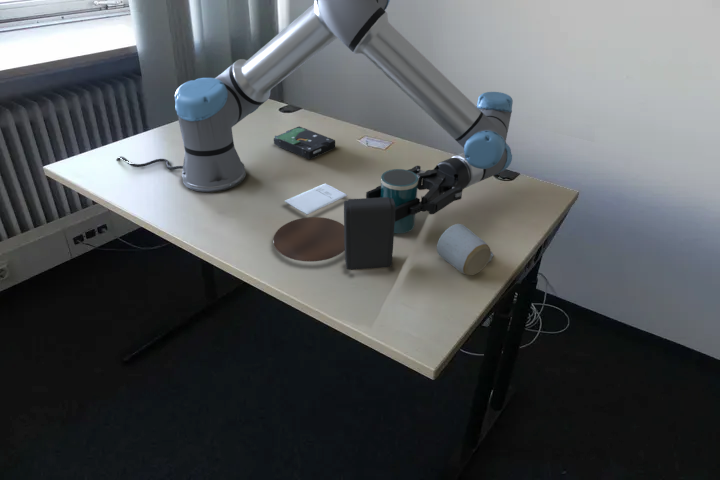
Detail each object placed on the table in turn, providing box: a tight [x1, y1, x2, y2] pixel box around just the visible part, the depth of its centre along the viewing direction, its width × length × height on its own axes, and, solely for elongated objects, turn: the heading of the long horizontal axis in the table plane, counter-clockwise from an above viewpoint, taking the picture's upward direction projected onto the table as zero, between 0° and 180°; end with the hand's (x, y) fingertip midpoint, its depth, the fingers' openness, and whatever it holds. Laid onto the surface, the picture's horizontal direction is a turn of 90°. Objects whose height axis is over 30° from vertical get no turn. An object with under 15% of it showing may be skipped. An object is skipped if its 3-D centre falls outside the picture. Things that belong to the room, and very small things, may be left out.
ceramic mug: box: [436, 223, 494, 276], centre depth 100 cm, size 11×8×8 cm
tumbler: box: [380, 168, 419, 234], centre depth 106 cm, size 8×8×11 cm
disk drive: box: [273, 125, 336, 160], centre depth 145 cm, size 10×3×15 cm
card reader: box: [343, 197, 395, 271], centre depth 96 cm, size 9×4×15 cm, turn 97°
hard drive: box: [283, 183, 348, 216], centre depth 120 cm, size 2×8×12 cm
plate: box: [272, 216, 345, 262], centre depth 107 cm, size 16×16×1 cm
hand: (380, 206), depth 103 cm, fingers closed on tumbler, 7 cm apart
